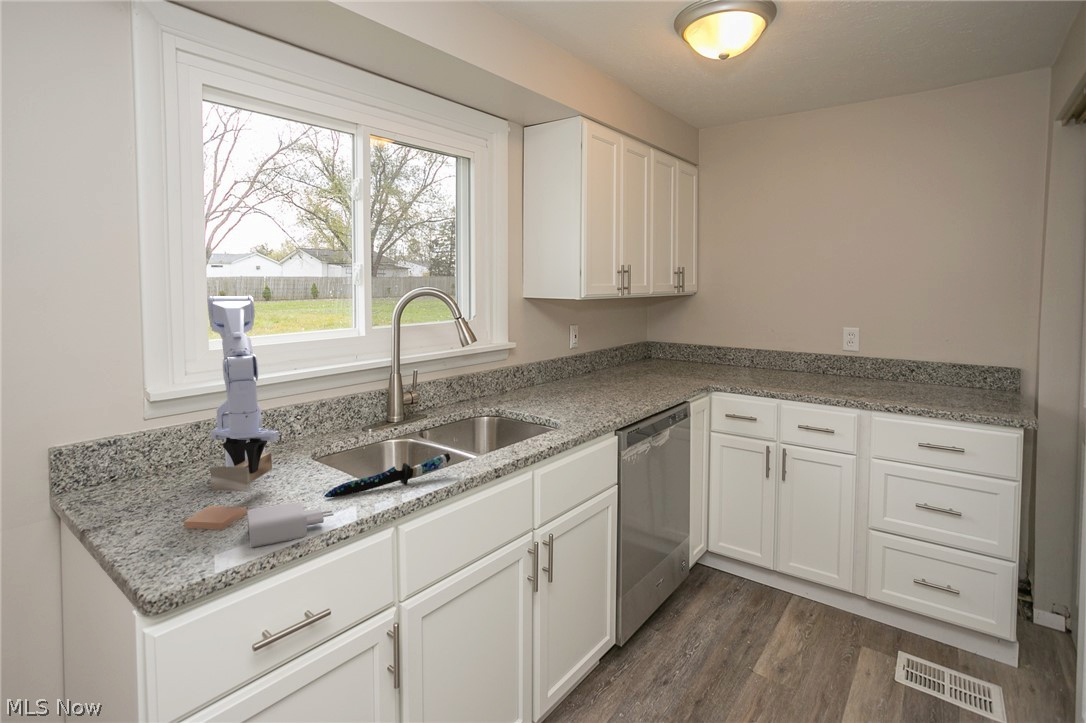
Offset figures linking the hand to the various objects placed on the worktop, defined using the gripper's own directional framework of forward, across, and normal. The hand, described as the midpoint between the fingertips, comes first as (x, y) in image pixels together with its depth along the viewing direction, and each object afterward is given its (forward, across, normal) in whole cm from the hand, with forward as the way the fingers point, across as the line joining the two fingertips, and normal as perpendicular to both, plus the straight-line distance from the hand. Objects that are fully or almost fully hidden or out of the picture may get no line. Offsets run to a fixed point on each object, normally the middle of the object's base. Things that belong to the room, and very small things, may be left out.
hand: (247, 471), depth 128 cm
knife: (+6, +28, +12) cm, 31 cm away
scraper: (+2, 0, 0) cm, 2 cm away
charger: (+7, +18, -15) cm, 24 cm away
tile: (+6, 0, -7) cm, 9 cm away
